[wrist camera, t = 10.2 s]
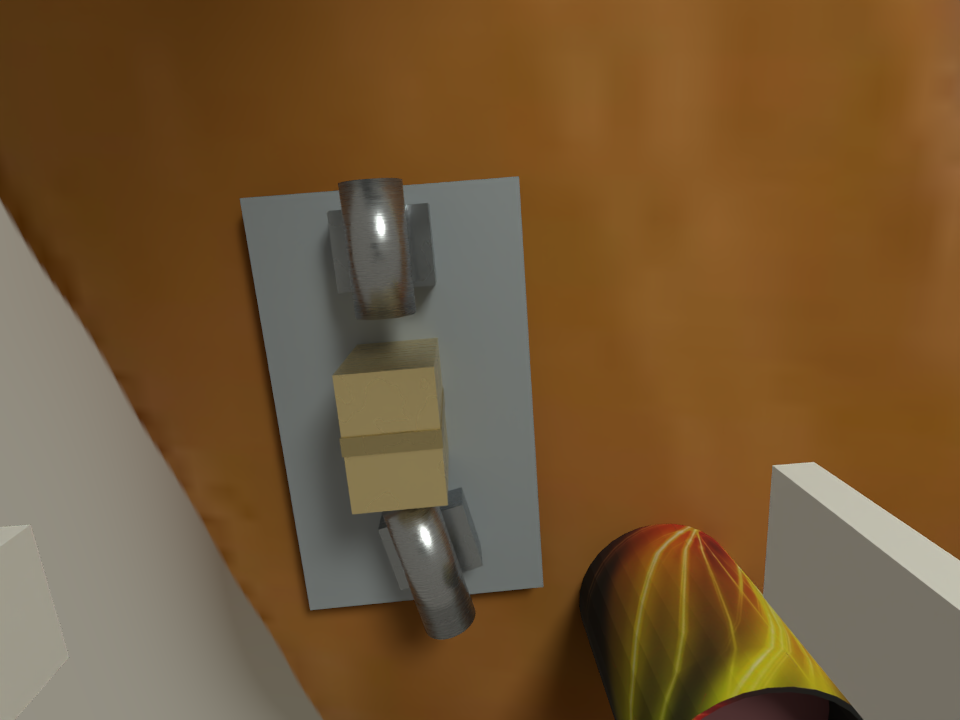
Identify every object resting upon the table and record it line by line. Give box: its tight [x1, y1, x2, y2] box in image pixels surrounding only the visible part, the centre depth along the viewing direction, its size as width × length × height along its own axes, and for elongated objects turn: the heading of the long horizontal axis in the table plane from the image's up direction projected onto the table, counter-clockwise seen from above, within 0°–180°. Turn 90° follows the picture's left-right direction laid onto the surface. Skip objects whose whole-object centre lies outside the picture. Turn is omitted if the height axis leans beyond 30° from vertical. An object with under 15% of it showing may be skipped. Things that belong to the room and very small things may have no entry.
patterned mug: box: [579, 524, 863, 720], centre depth 28 cm, size 10×14×12 cm
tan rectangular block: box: [332, 338, 449, 514], centre depth 26 cm, size 6×4×6 cm
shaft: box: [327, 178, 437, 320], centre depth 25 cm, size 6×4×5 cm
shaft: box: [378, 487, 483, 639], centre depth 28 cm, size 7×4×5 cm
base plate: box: [240, 177, 543, 610], centre depth 30 cm, size 22×13×2 cm, turn 4°
